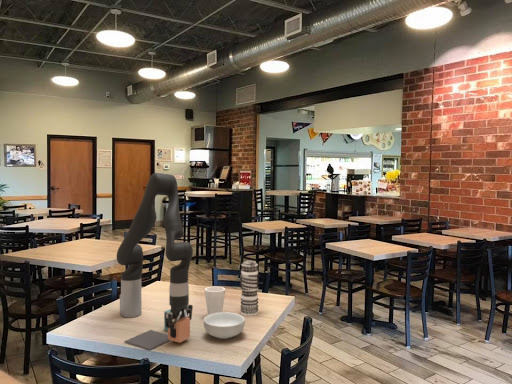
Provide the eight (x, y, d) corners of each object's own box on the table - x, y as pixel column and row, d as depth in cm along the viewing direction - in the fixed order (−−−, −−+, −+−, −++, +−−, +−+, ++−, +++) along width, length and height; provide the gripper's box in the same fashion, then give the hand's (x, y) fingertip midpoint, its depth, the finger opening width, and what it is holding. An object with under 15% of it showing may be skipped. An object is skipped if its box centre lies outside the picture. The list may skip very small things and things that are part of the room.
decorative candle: (261, 310, 201) (261, 259, 200) (256, 316, 192) (256, 263, 191) (243, 308, 203) (243, 258, 202) (237, 315, 194) (237, 262, 193)
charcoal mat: (124, 342, 162) (124, 341, 162) (150, 331, 174) (150, 329, 174) (149, 350, 154) (149, 349, 154) (175, 338, 166) (175, 336, 166)
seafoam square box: (164, 330, 175) (164, 311, 175) (174, 325, 180) (174, 307, 180) (174, 332, 172) (174, 314, 172) (184, 328, 177) (184, 310, 177)
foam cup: (221, 320, 187) (221, 292, 186) (202, 319, 188) (202, 291, 188) (227, 313, 196) (227, 286, 195) (208, 312, 198) (208, 285, 197)
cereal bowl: (210, 346, 159) (210, 328, 158) (198, 331, 174) (198, 315, 174) (251, 339, 165) (251, 322, 165) (236, 325, 181) (236, 309, 180)
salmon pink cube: (168, 339, 162) (168, 319, 161) (178, 334, 167) (178, 314, 166) (179, 342, 158) (179, 322, 158) (189, 337, 164) (189, 317, 163)
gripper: (184, 287, 170) (184, 327, 171) (159, 295, 158) (159, 338, 158) (198, 290, 166) (198, 330, 167) (173, 299, 154) (173, 343, 154)
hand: (179, 334), depth 163 cm, fingers closed on salmon pink cube, 6 cm apart
